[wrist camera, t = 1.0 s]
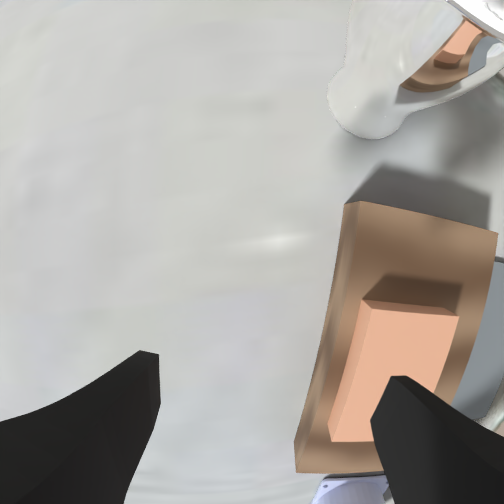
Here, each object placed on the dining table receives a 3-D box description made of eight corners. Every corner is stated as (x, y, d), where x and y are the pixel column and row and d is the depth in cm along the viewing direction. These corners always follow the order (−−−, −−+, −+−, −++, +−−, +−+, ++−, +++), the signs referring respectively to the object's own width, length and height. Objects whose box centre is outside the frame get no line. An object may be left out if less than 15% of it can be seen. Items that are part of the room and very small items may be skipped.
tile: (403, 422, 17) (412, 438, 15) (327, 423, 17) (331, 441, 15) (443, 307, 16) (459, 316, 14) (361, 299, 16) (371, 308, 14)
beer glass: (316, 59, 19) (355, -98, 4) (400, 69, 18) (496, -44, 3) (323, 143, 19) (412, 8, 5) (412, 149, 19) (562, 79, 4)
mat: (482, 414, 21) (484, 417, 20) (411, 425, 21) (413, 428, 21) (530, 269, 19) (533, 269, 18) (464, 255, 19) (467, 255, 19)
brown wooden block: (404, 440, 21) (417, 466, 17) (294, 441, 22) (295, 472, 18) (467, 230, 19) (498, 233, 15) (344, 204, 20) (360, 200, 16)
